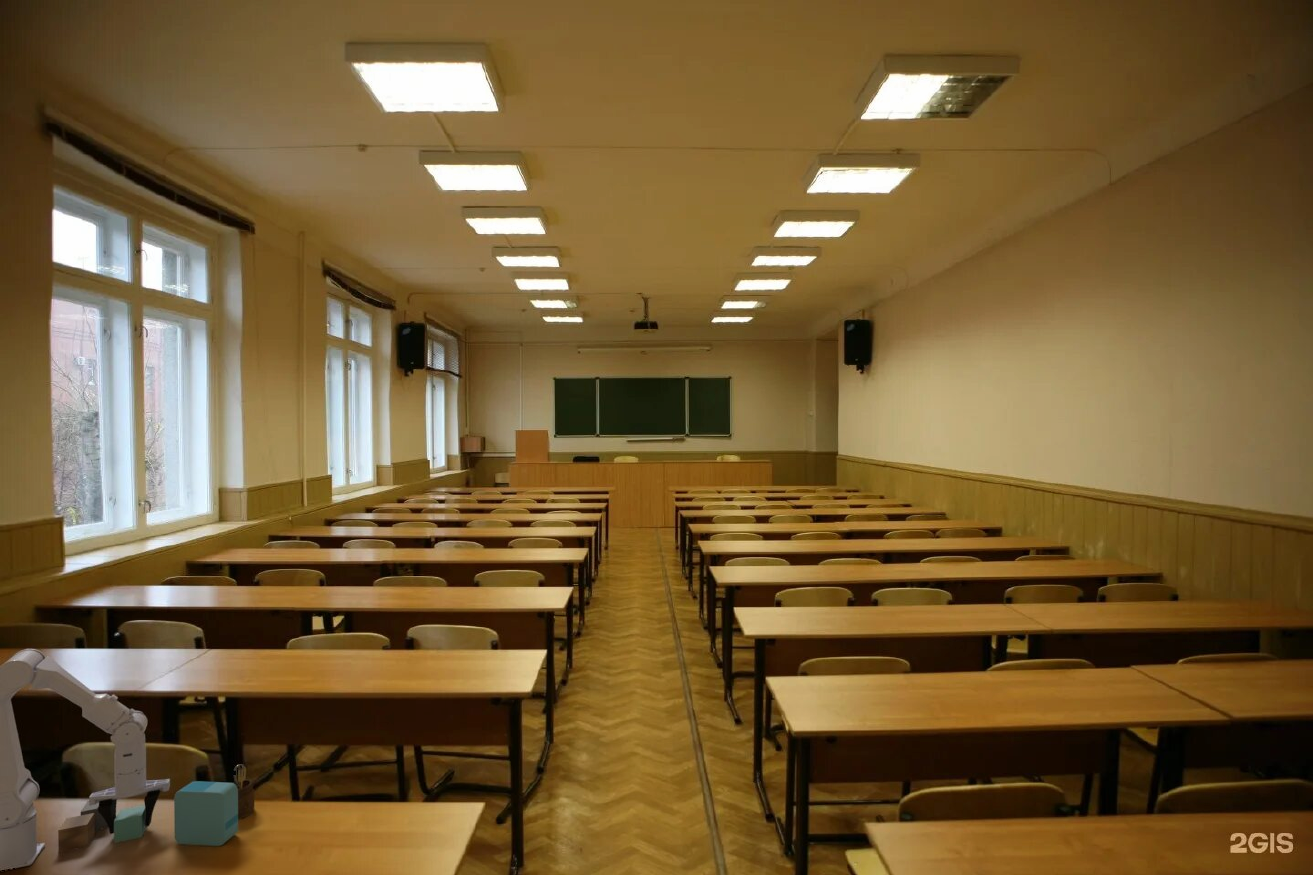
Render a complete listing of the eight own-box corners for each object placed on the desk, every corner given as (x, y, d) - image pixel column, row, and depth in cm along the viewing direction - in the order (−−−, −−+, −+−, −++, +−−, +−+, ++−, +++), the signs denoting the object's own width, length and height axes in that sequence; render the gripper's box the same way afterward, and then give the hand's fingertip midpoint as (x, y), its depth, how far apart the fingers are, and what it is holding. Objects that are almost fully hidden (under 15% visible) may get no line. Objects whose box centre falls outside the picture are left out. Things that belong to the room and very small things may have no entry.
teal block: (114, 843, 151) (113, 820, 151) (120, 831, 156) (120, 809, 156) (141, 837, 154) (141, 815, 153) (147, 825, 158) (146, 804, 158)
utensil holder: (251, 803, 167) (251, 755, 167) (256, 814, 162) (256, 764, 162) (223, 812, 163) (223, 763, 163) (228, 823, 159) (227, 773, 158)
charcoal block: (80, 833, 155) (80, 811, 155) (87, 821, 160) (87, 800, 160) (108, 827, 157) (107, 806, 157) (114, 816, 162) (114, 795, 162)
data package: (238, 834, 154) (238, 782, 154) (224, 846, 150) (224, 793, 150) (189, 832, 155) (189, 780, 155) (174, 844, 151) (173, 790, 151)
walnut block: (58, 852, 148) (58, 830, 148) (66, 840, 152) (66, 818, 152) (87, 846, 150) (87, 824, 150) (94, 834, 155) (94, 812, 155)
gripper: (172, 754, 161) (173, 810, 161) (95, 767, 155) (96, 826, 155) (165, 767, 155) (166, 826, 155) (85, 781, 149) (86, 843, 149)
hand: (130, 827), depth 155 cm, fingers open, 6 cm apart
